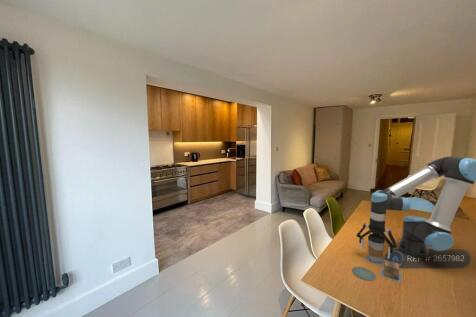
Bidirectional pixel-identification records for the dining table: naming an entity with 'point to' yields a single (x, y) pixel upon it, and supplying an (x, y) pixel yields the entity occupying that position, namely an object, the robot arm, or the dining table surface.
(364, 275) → the coaster
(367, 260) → the tile
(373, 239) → the coffee cup
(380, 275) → the code tile
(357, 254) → the dining table surface
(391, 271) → the brown cube
